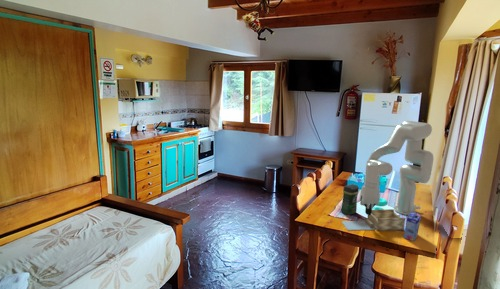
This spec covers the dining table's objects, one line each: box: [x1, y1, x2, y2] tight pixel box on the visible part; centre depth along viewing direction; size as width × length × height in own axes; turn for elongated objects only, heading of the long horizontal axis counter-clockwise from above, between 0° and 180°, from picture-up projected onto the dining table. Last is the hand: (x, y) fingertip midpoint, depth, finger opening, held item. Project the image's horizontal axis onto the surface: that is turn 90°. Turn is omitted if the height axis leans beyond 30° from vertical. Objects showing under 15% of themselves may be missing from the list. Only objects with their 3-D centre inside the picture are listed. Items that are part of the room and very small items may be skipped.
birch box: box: [366, 208, 406, 232], centre depth 175 cm, size 16×12×8 cm
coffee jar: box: [340, 183, 360, 216], centre depth 191 cm, size 10×8×19 cm
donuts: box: [372, 196, 389, 210], centre depth 191 cm, size 10×10×10 cm
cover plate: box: [340, 217, 376, 231], centre depth 175 cm, size 16×10×4 cm, turn 93°
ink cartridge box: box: [403, 212, 422, 242], centre depth 163 cm, size 10×6×14 cm, turn 140°
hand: (368, 214), depth 174 cm, fingers closed
